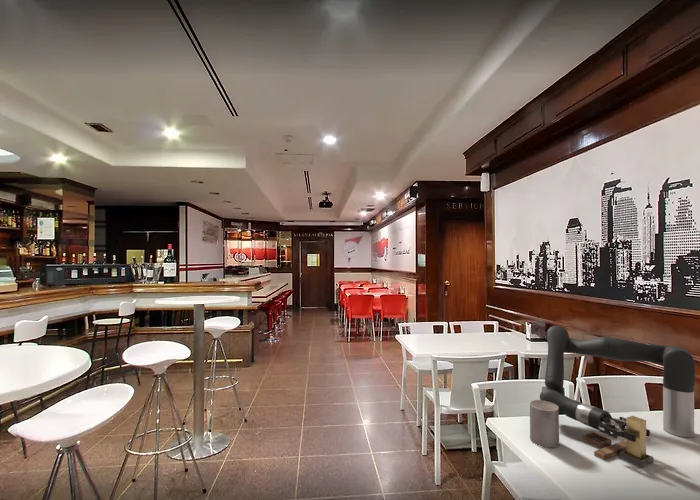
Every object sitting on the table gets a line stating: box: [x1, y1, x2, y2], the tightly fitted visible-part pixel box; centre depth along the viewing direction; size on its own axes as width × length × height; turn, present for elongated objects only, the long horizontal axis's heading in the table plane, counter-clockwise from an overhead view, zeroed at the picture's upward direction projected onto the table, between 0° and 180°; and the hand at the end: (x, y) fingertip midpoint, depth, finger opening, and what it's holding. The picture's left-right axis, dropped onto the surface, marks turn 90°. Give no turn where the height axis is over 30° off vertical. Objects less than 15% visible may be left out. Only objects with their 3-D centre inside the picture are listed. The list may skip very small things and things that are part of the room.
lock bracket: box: [581, 431, 654, 469], centre depth 132 cm, size 20×20×2 cm
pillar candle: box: [529, 399, 560, 449], centre depth 138 cm, size 10×10×15 cm
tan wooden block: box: [625, 415, 647, 460], centre depth 126 cm, size 4×4×14 cm
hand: (642, 436), depth 124 cm, fingers open, 8 cm apart
